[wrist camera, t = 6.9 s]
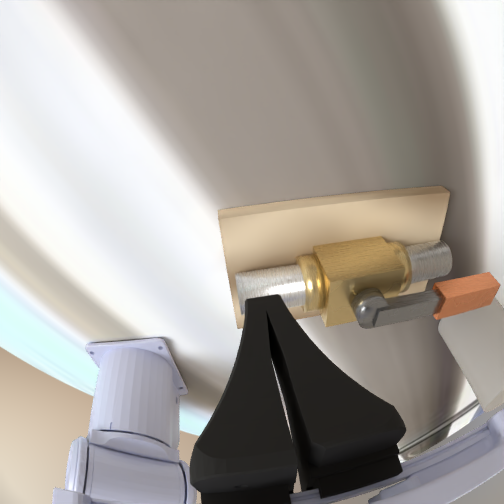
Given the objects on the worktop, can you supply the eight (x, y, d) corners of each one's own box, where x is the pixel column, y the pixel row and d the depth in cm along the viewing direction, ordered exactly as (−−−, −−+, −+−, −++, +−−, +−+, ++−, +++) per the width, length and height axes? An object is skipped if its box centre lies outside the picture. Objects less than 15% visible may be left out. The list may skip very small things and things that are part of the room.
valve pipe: (424, 263, 25) (450, 296, 21) (238, 296, 24) (245, 341, 20) (435, 223, 22) (465, 255, 19) (232, 253, 22) (237, 297, 18)
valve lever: (348, 315, 20) (358, 338, 18) (354, 290, 19) (366, 313, 17) (476, 289, 21) (489, 305, 19) (486, 267, 20) (501, 283, 18)
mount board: (418, 283, 27) (424, 292, 26) (236, 318, 26) (237, 328, 25) (441, 185, 21) (450, 192, 20) (217, 210, 20) (218, 219, 19)
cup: (454, 340, 35) (494, 411, 25) (427, 328, 32) (474, 412, 22) (496, 297, 31) (545, 365, 22) (476, 277, 28) (537, 357, 18)
